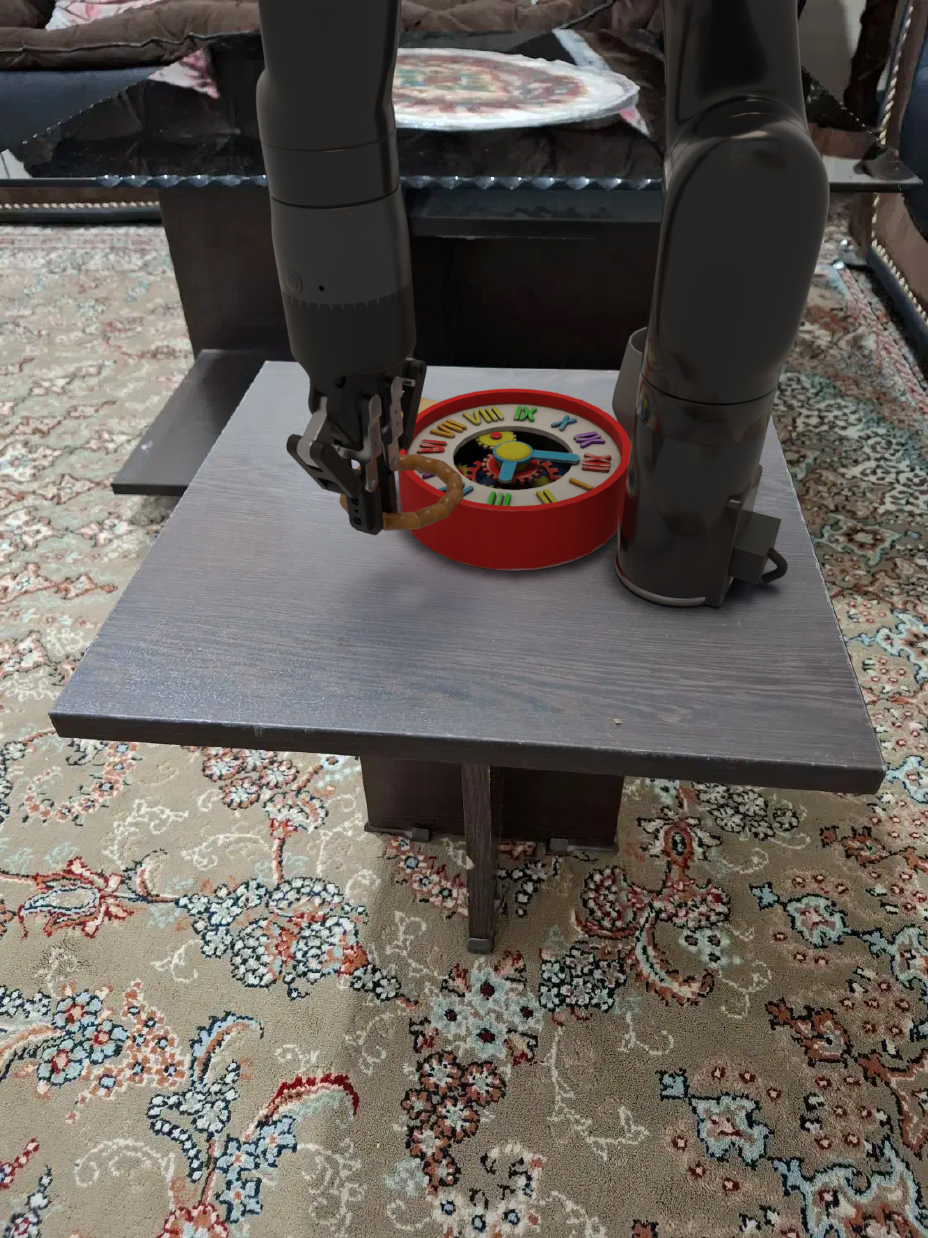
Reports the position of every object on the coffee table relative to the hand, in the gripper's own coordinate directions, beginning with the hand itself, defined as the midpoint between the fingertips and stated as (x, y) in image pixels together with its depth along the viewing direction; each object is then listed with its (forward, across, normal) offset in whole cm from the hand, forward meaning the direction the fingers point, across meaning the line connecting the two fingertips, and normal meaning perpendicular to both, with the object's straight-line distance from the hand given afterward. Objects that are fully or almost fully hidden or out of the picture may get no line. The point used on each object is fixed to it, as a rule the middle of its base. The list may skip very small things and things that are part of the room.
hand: (375, 521), depth 62 cm
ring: (0, +4, 0) cm, 4 cm away
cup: (+10, +35, -10) cm, 37 cm away
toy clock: (+10, +19, -2) cm, 21 cm away
